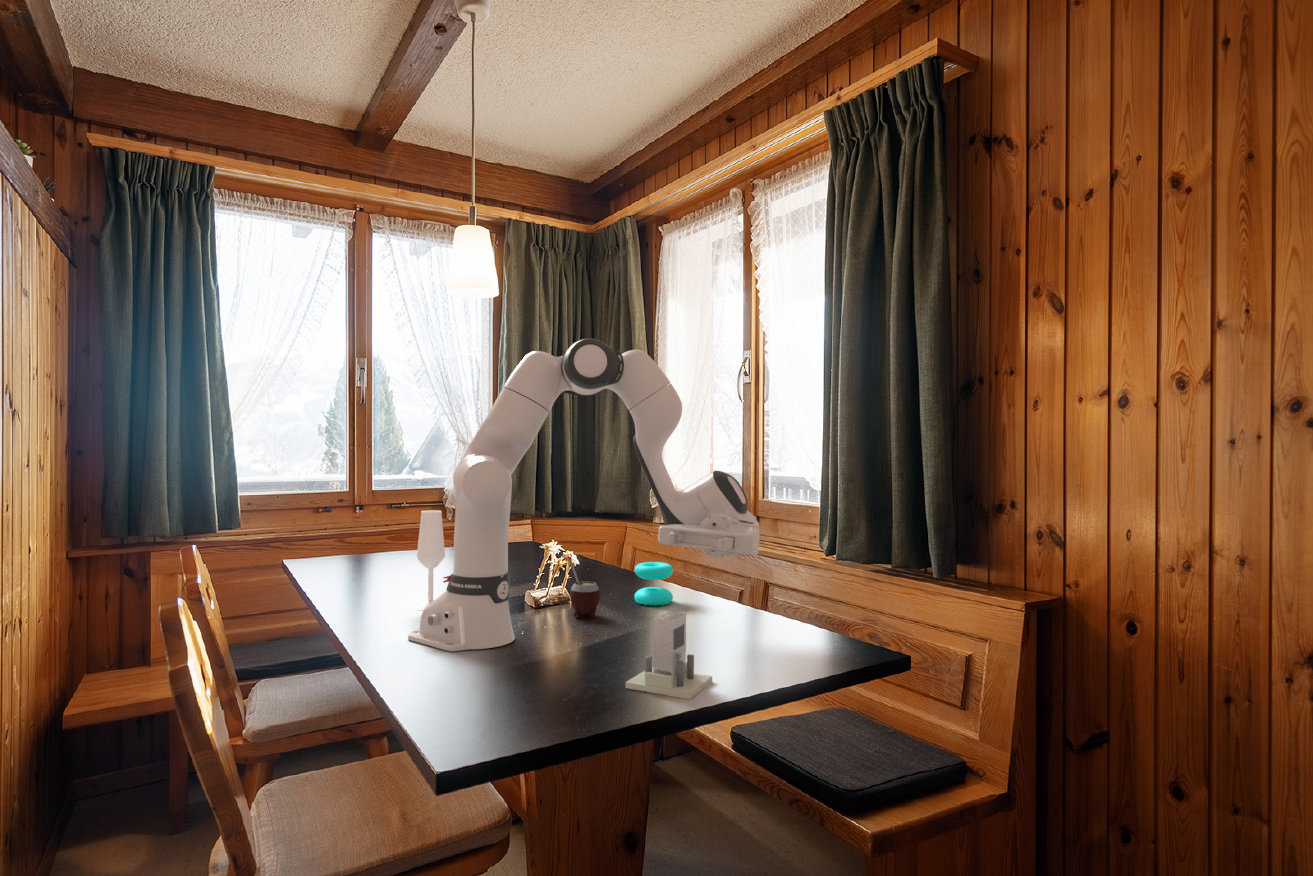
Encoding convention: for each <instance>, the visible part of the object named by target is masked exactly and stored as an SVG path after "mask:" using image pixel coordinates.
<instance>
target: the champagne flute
mask: <svg viewBox="0 0 1313 876" xmlns="http://www.w3.org/2000/svg"><path fill="white" fill-rule="evenodd" d="M419 522H420V523H419V524H420V525H419V531H418V532H419V533H418V540H417V550H416V551H417V552H416V557H417V560H418V562H419V563H420V564H421V565H422V566H423V567H424V568H425V569H427V570H428V574H427V575H428V577H427V578H428V581H427V583H428V585H427V586H428V587H427V588H428V589H427V590H428V591H427V599H428V600H427V601H425V602H423V603H422V604H421V605H419V606H418V607H416V610H417V611H420V612H423V610H424V609H425V608H426V607H427V606H428V605H429V604H431V603H432V602H433V601H434V600H435V599H434V569H436V568H437V567H438V566H439V565H440V564H441V563H442V562H443V560H444V559H445V557H446V549H445V539H444V526H443V515H442V510H439V509H438V510H435V509H434V510H431V509H430V510H421V513H420V521H419Z"/></svg>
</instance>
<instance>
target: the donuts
mask: <svg viewBox="0 0 1313 876" xmlns="http://www.w3.org/2000/svg"><path fill="white" fill-rule="evenodd" d="M673 572H674V568H673V566H672V565H671V564H669V563H667V562H661V561H646V562H641V563H637V565H635V567H634V573H635V575H636V576H637V577H638V578H639V579H640V578H641V579H643V580H648V581H659V580H660V581H661V580H665V579H667V578H670V577H671V576H672V575H673ZM673 597H674V596H673V593H672V592H671V591H670V590H669V589H667V588H664V587H661V586H659V587H658V586H649V587H642V588H640V589H638V590H637V591H636V592H635V593H634V600H635V602H636V603H637V604H639V605H641V604H643V605H642V606H647V605H655V606H654V607H658V606H657V605H662V606H665V604H666V605H669V604H670V603H672V601H673V599H674V598H673Z"/></svg>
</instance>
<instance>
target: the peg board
mask: <svg viewBox="0 0 1313 876" xmlns="http://www.w3.org/2000/svg"><path fill="white" fill-rule="evenodd" d="M686 656H687V657H686V673H685V676H684V662H683V661H677V682H676V683H674V684H673V676H671V675H664V674H658V673H653V656H649V655H646V656H644V657H645V659H644V664H645V665H644V670H643V671H641V672H640V673H638V674H636V675H635V676H633V677H632V678H630V679H628V680H627V681H625V689H629V690H635V691H639V692H645V691H646V693H651V694H658V695H663V696H669V697H675V698H680V699H685V700H691V699H692V698H693V697H695V696H696V695H697V694H699V693H700V692H701V691H703V690H704V689H705V688H706V687H707V686H709V685H710V684H711V683H713V676H712V675H706V674H701V673H700V674H699V673H695V654H687V655H686ZM703 688H704V689H703ZM699 691H700V692H699ZM698 692H699V693H698Z"/></svg>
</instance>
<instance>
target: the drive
mask: <svg viewBox="0 0 1313 876" xmlns="http://www.w3.org/2000/svg"><path fill="white" fill-rule="evenodd" d="M686 645H687V613H684V612H676V611H670V610H669V611H666V612H665V613H662V614H660V615H659V616H656V617H654V618H653V663H652V667H653V673H658V674H664V675H671V676H673V684H674V683H676V682H677V661H683V662H684V676H685V673H686V662H687V657H686V656H687V655H686V654H687V653H686V651H687V646H686Z"/></svg>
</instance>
